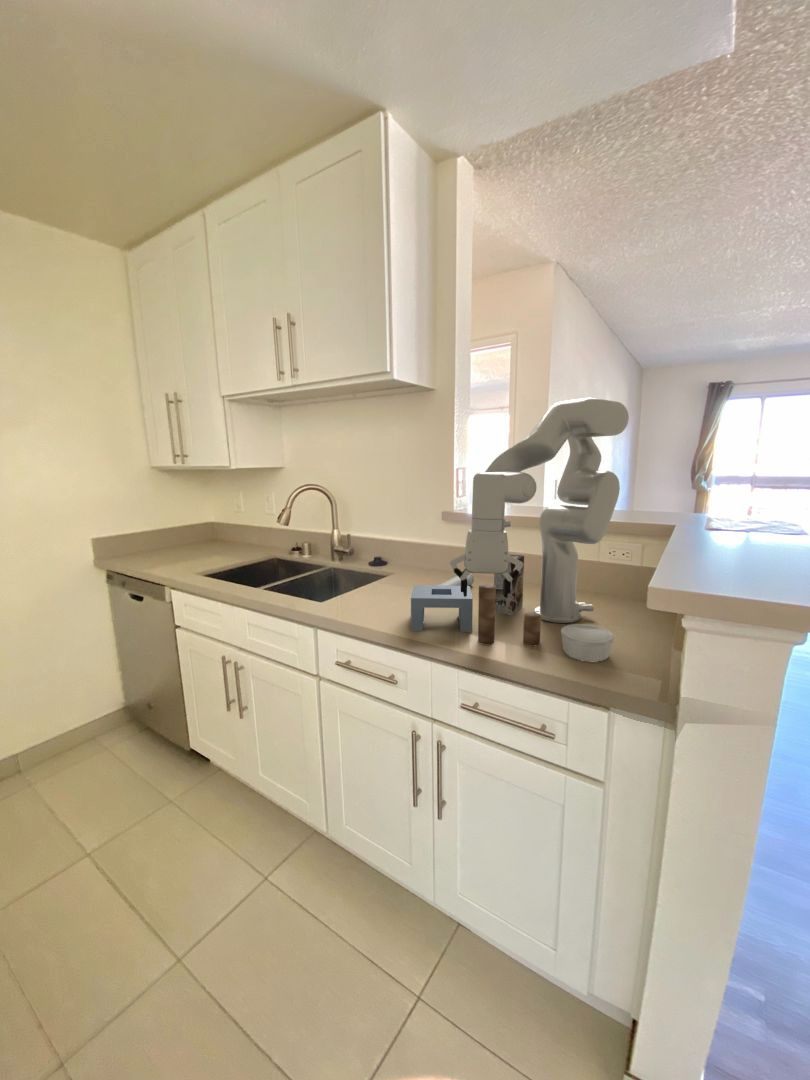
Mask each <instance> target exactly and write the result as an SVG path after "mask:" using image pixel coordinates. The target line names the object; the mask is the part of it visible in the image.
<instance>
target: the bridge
mask: <svg viewBox="0 0 810 1080" xmlns="http://www.w3.org/2000/svg"><path fill="white" fill-rule="evenodd" d="M471 590H472V589H471V586H467V596H466V597H464V595H463V592H461V586H437V585H422V584H421V585H419V584H417V585H413V587H412V592H411V596H410V627H411V628H410V629H411V630H410V631H412V632H423V630H424V623H423V622H424V621H425V620H424V619H425V608H426V609H427V608H432V609H433V608H434V609H435V608H436V609H437V608H439V609H440V608H441V609H448V608H449V609H458V619H459V620H458V621H459V628H460V630H459V631H460V632H461V633H462V632H463V633H464V632H465V633H467V632H468V633H470V632H471V633H472V632H473V611H474V610H473V606H474V605H473V601H474V600H473V594H472V591H471Z"/></svg>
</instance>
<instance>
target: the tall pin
mask: <svg viewBox="0 0 810 1080" xmlns="http://www.w3.org/2000/svg"><path fill="white" fill-rule="evenodd" d="M495 593H496V587H495V586H494V584H480V585H479V586H478V607H477V608H478V613H477V614H478V615H477V616H478V617H477V642H478V643H479V644H480V645H484V646H485V645H487V646H488V645H493V644H494V643H495V638H496V637H495V636H496V635H495V634H496V629H495V627H496V612H495Z"/></svg>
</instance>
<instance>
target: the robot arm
mask: <svg viewBox="0 0 810 1080" xmlns="http://www.w3.org/2000/svg"><path fill="white" fill-rule="evenodd" d="M629 419H630V417H629V411H628V409H627V407H626V406H625V405H624V404H623V403H622V402H619V401H615V400H607V399H603V398H602V399H601V398H595V397H593V398H592V397H585V398H578V399H570V400H564V401H559V402H555V403H554V404H553V405H551V406H550V407H549V409H548V410H547V411H546V412H545V413H544V415H543V416H542V417H541V419H540V420H539V421H538V423H537V424H536V425H535V426H534V428H533V430H531V431H530V433H529V435H528V436H527V437H525V438H524V439H522V440H520V441H519V442H517V443H516V444H514V445H512V446H511V447H510V448H508V449H507V450H505V451H503V452H502V453H501V454H499V455H498V456H497V457H496V458H495V459H494V460H493V461H491V463H490V465H489V466H488V467H487V468H486V470H485V471H484V472H478V473H476V474H474V476H473V480H472V505H471V529H468V531H467V534H466V538H465V539H466V540H465V549H464V553H462V554H461V555H459V556H457V557H455V558H452V559H450V560H449V564H450V567H451V569H452V570H453V572H454V574H455V576H458V577H459V578H460V579H461V592H463V595H464V597H466V596H467V577H468V575H469V574H470V573H471V574H490V575H491V574H493V575H494V574H503V575H504V576H505V579H504V580H503V595H504V597H505V598H508V594H510V588H511V581H512V580H513V579H514V578H515V577H516V576H517V575H518V574H519V572H520V570H521V569H522V567H523V563H522V562H521V561H519V560H517V559H515V558H513V557H512V556H510V555H511V554H509V539H508V534H507V531H506V530H505V529H506V528H508V527H511V520H507V519H505V514H506V513H505V511H506V510H505V509H506V503H507V504H524V503H528V502H529V501H530V500H532V499H533V498H534V496H535V494H536V491H537V481H536V480H535V478H534V477H533V476H532V475H530V474H529V473H526V472H522V471H525V470H527V469H530V468H534V467H537V466H541V465H542V464H545V463H548V462H550V461H551V460H554V458H555V457H556V456H557V454H558V453H559V452H560V450H561V449H562V447H563V446H564V444H565V443H566V442H567V441H568V442H567V443H568V446H569V456H568V460H567V462H566V465H565V468H564V469H563V472H562V476H561V478H560V481H559V483H558V487H557V491H556V493H557V497H558V499H559V500H560V501H561V502H563V503H566V504H570V505H564V504H554V505H550V506H548V507H546V508H545V509H544V510H543V511H542V513H541V514H540V515H539V516H540V517H539V531H540V532H539V533H540V536H541V553H542V554H541V575H540V599H539V602H540V603H539V606H537V607H535V608H534V610H533V612H534V613H538V614H540V615H541V621H542V620H543V621H546V622H551V623H557V624H558V623H559V624H563V623H564V624H569V623H575V622H578V621H579V620H581V618H582V614H581V613H582V611H583V612H594V610H595V609H594V604H587V603H586V602H578V601H577V587H578V586H577V583H578V567H579V554H578V550H577V548H576V546H575V543H578V544H585V545H594V544H595V545H596V544H598V543H599V542H601V541H602V540H603V538H604V536H605V535H606V532H607V530H608V527H609V526H610V522H611V519H612V518H613V513H614V511H615V508H616V505H617V503H618V500H619V496H620V490H621V489H620V488H621V487H620V486H621V485H620V481H619V478H618V476H617V475H616V473H614V472H612V471H610V470H605V469H604V470H603V469H601V470H599V469H600V466H601V463H602V454H601V451H600V449H599V447H598V446H597V444H596V442H595V441H594V438H597V437H612V436H618V435H620V434H621V433H623V432H624V431H625V430H626V429H627V426H628V424H629V421H630V420H629ZM593 437H594V438H593ZM576 505H580V506H576ZM462 562H464V567H465V568H464V569H463V570H461V569H460V568H459V567H458V564H459V563H460V564H461V563H462ZM509 562H511V563H513V564H515V565H516V566H515V568H514V569H513V570H512V571H511V572H510V573H508V572H507V571H508V564H509Z"/></svg>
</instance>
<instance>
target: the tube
mask: <svg viewBox="0 0 810 1080" xmlns="http://www.w3.org/2000/svg"><path fill="white" fill-rule="evenodd" d="M474 582H475V576H474V575H473V573H470V574H469V575H468V577H467V586H469V585H471V586H472V585H473V584H474ZM436 586H461V579H460V578H459V577H458V576H457V575H455V576H453V577H452V578H450V579H448V580H446V581H444V582H441V583H439V584H437V585H436Z"/></svg>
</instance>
